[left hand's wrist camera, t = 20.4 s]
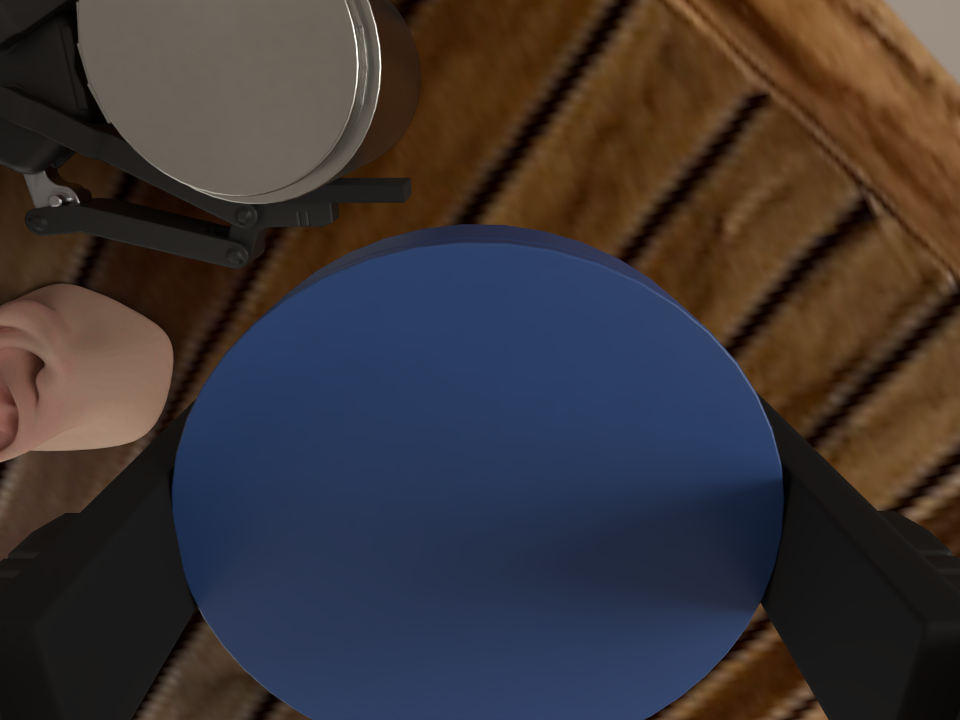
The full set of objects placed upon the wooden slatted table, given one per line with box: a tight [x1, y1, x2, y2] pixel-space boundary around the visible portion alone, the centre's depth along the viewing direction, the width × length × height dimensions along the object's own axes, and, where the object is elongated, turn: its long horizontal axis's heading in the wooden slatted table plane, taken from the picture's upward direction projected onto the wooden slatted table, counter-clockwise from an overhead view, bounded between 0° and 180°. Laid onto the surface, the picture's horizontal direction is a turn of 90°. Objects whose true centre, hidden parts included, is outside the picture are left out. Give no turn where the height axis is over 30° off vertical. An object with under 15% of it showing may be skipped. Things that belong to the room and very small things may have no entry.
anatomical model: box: [0, 284, 173, 462], centre depth 37 cm, size 13×4×12 cm
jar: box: [76, 0, 420, 204], centre depth 26 cm, size 9×9×15 cm
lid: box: [171, 224, 784, 720], centre depth 11 cm, size 10×10×2 cm
